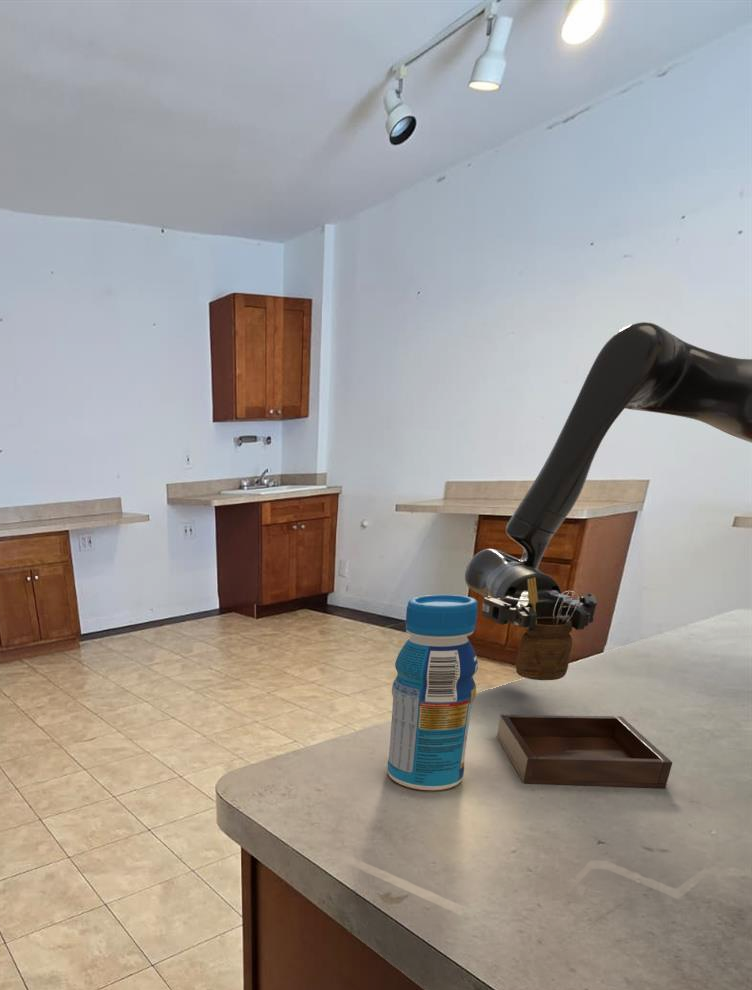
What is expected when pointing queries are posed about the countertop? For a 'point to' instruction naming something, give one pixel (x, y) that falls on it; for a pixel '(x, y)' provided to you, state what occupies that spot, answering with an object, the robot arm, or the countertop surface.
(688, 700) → the countertop surface
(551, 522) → the robot arm
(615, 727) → the tray box
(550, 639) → the utensil holder
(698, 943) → the countertop surface
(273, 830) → the countertop surface
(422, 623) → the beverage bottle
